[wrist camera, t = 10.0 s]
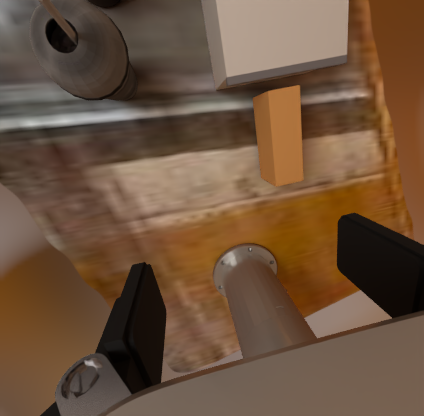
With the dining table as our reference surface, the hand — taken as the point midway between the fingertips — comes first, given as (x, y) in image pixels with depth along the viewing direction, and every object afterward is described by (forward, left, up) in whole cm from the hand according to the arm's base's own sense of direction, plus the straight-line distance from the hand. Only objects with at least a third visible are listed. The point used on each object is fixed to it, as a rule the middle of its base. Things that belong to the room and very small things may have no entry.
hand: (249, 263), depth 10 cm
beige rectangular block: (+4, -20, -26) cm, 33 cm away
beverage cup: (+16, -4, -26) cm, 31 cm away
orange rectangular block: (-6, -10, -25) cm, 28 cm away
